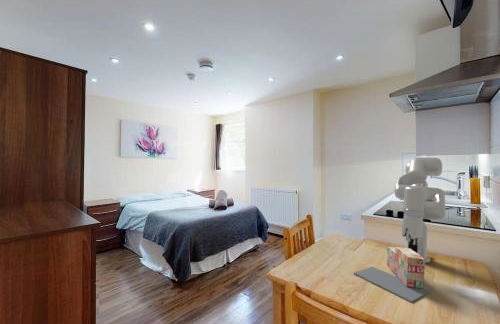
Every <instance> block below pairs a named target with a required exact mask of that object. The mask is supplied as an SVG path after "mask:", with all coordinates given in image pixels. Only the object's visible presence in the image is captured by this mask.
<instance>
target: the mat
mask: <svg viewBox="0 0 500 324" xmlns="http://www.w3.org/2000/svg"><path fill="white" fill-rule="evenodd" d="M353 275H355V276H356V277H358V278H361V279H363V280H365V281H367V282H369V283H371V284H373V285H374V286H376V287H379V288H381V289H382V290H385V291H386V292H389V293H391V294H393V295H395V296H397V297H399V298H401V299H403V300H405V301H407V302H409V303H411V304H412V303H414V302H416V301H418V300H419V299H421V298H423V297H425V296H427V295H429V294H430V293H431V291H430V290H427V288H426V289H425V288H424V287H423V289H420V288H413V287H407V286H406V285H405V284H404V283H403V282H402V281H401V280H400V278H399V277H398V276H397V275H396V276H395V275H393V274H391V273H388V272H386V271H385V270H381V269H379V268H377V267H375V266H369V267H366V268H364V269H363V268H362V269H361V270H358V271H355V272H353Z"/></svg>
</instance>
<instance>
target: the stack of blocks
mask: <svg viewBox="0 0 500 324" xmlns="http://www.w3.org/2000/svg"><path fill="white" fill-rule="evenodd" d="M386 250H387V251H386V253H387V256H386V259H387V261H386V266H387V267H388V268H389V269H390V270H391V271H392V272H393V273H394V274H395V275H396V277H398V278H400V280H401V281H402V282H403V283H404V284H405V285H406V286H407V287H413V288H420V289H423V288H424V284H425V282H424V281H425V269H426V267H425V265H426V263H425V259H424V258H423V257H421V255H419V254H418V253H416V252H414V251H413V250H411V249H410V248H405V247H401V246H400V247H399V246H395V247H391V246H387V249H386Z"/></svg>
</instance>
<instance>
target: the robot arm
mask: <svg viewBox="0 0 500 324" xmlns="http://www.w3.org/2000/svg"><path fill="white" fill-rule="evenodd" d="M442 171H443V163H442V160H441V159H440V158H438V157H415V158H412V159H411V160H410V161H409V162H408V163H407V164H406V166H405V174H403V175H401V176H400V177H398V179H397V180H396V182H395V186H394V187H395V188H394V196H395V198H397V199H399V200H403V217H402V226H401V236H402V237H403V238H405V240H404V248H410V249H411V250H413V251H414V252H416V253H418V254H419V255H421V257H423V258H424V259H425V264H428V263H430V262H431V258H430V257H429V256H428V253H429V252H430V251H429V249H428V226H427V225H426V223H425V222H424V220H431V221H439V222H440V221H443V220H444V219H445V217H446V196H445V192H444V191H443V189H442V188H438V187H430V186H429V185H428V182H427V178H428V177H439V176H441V175H442V173H443V172H442ZM428 186H429V187H428Z"/></svg>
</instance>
